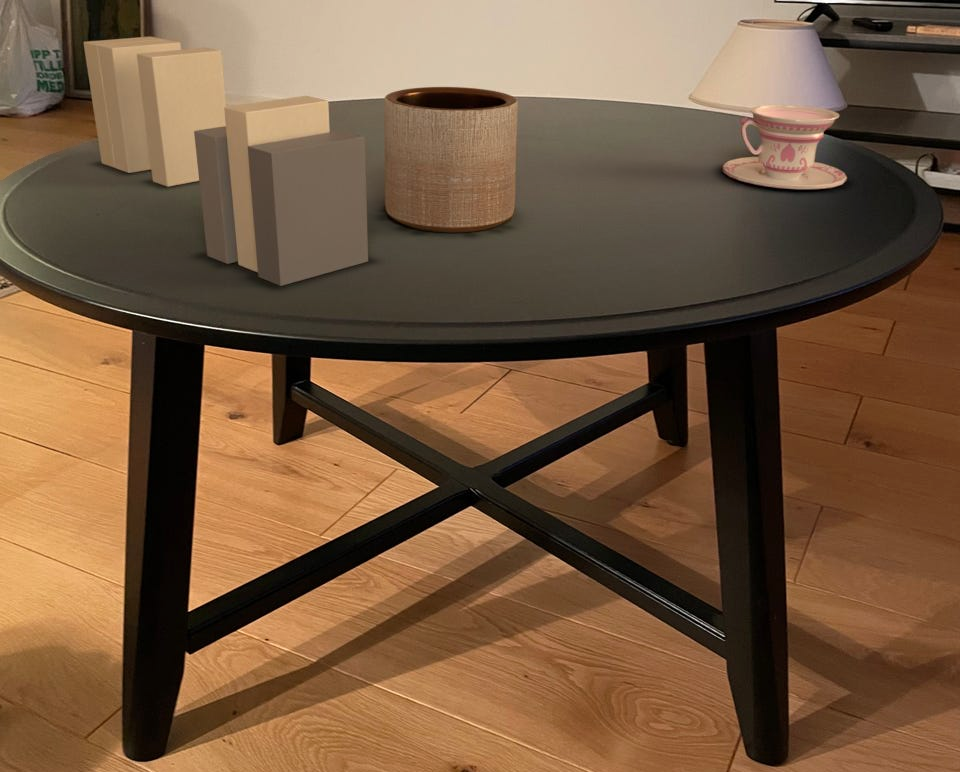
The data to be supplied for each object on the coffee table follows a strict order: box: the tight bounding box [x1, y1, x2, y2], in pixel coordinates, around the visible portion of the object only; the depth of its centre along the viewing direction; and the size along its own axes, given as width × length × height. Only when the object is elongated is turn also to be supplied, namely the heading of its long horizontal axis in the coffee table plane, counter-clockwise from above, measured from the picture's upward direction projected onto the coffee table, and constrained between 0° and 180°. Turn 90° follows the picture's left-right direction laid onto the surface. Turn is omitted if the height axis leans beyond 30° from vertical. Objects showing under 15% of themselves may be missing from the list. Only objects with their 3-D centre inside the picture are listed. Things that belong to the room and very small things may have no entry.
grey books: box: [194, 126, 369, 287], centre depth 74 cm, size 8×9×9 cm
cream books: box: [83, 36, 227, 188], centre depth 95 cm, size 7×12×11 cm, turn 47°
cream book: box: [224, 95, 331, 274], centre depth 73 cm, size 7×2×11 cm, turn 137°
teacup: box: [722, 104, 848, 190], centre depth 101 cm, size 12×12×6 cm
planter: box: [383, 86, 519, 233], centre depth 84 cm, size 11×11×10 cm
